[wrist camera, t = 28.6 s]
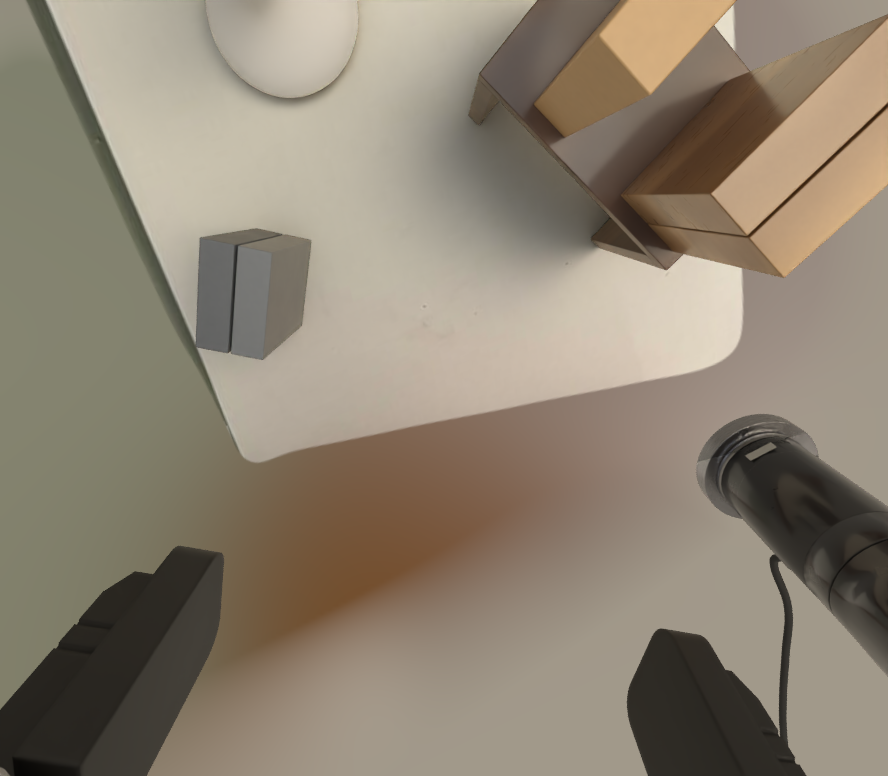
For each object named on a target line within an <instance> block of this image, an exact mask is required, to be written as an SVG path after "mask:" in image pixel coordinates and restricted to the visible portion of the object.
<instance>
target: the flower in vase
mask: <svg viewBox="0 0 888 776" xmlns="http://www.w3.org/2000/svg"><path fill="white" fill-rule="evenodd" d="M205 4H206V12H207V17H208V21H209V26H210V29H211V32H212V35H213V38H214V40H215V42H216V45H217V47H218V49H219V51H220V52H221V54H222V56H223V57H224V59H225V60H226V62H227V63H228V64H229V66H230V67H231V68H232V69H233V70H234V71H235V72H236V73H237V75H238V76H239V77H241V78H242V79H243V80H244V81H246V82H247V83H248V84H250V85H251V86H253V87H254V88H256V89H258V90H260V91H262V92H264V93H267V94H270V95H273V96H277V97H283V98H297V97H304V96H307V95H311V94H313V93H315V92H318V91H320V90H321V89H323V88H324V87H326V86H328V85H329V84H330V83H331V82H332V81H333V80H334V79H336V77H337V76H338V75H339V74H340V73H341V71H342V70H343V69H344V67H345V65H346V64H347V62H348V60H349V58H350V56H351V54H352V51H353V48H354V45H355V42H356V37H357V31H358V19H359V18H358V3H357V0H205Z"/></svg>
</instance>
